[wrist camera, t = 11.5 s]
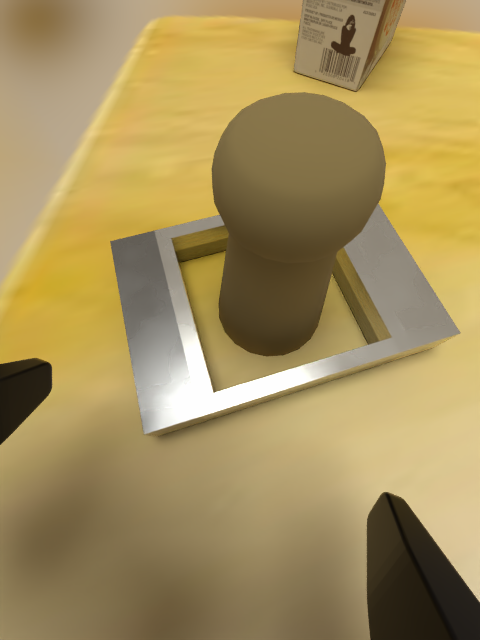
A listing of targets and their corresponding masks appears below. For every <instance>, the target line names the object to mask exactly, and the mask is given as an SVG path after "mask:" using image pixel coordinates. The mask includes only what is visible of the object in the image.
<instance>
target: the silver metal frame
mask: <svg viewBox="0 0 480 640" xmlns="http://www.w3.org/2000/svg"><path fill="white" fill-rule="evenodd" d="M228 235H229V233H228V231H227V228H226V226H225V224H224V222H223V220H222V218H221V216H220V215H217V216H213V217H209V218H205V219H201V220H197V221H193V222H188V223H184V224H180V225H176V226H172V227H168V228H164V229H160V230H155V231H151V232H147V233H143V234H139V235H135V236H131V237H127V238H122V239H118V240H114V241H110V242H111V248H112V254H113V259H114V265H115V271H116V277H117V282H118V288H119V294H120V300H121V305H122V311H123V317H124V323H125V328H126V334H127V340H128V345H129V351H130V357H131V363H132V368H133V374H134V380H135V386H136V391H137V397H138V403H139V409H140V414H141V420H142V426H143V432H144V434H145V435H152V436H161V435H164V434H167V433H170V432H173V431H176V430H180V429H183V428H186V427H189V426H192V425H195V424H198V423H201V422H204V421H208V420H211V419H214V418H217V417H220V416H223V415H226V414H229V413H232V412H236V411H239V410H242V409H245V408H248V407H251V406H254V405H257V404H260V403H263V402H267V401H270V400H273V399H276V398H279V397H282V396H285V395H288V394H291V393H295V392H298V391H301V390H304V389H307V388H310V387H313V386H316V385H319V384H322V383H326V382H329V381H332V380H335V379H338V378H341V377H344V376H347V375H350V374H354V373H357V372H360V371H363V370H366V369H369V368H372V367H375V366H378V365H381V364H385V363H388V362H391V361H394V360H397V359H400V358H403V357H406V356H409V355H413V354H416V353H419V352H422V351H425V350H428V349H431V348H433V347H435V346H437V345H439V344H441V343H443V342H445V341H447V340H449V339H451V338H453V337H454V336H456V335H458V334H460V331H459V330H458V328H457V327H456V325H455V324H454V322H453V320H452V319H451V317H450V316H449V314H448V313H447V311H446V309H445V308H444V306H443V305H442V303H441V302H440V300H439V298H438V297H437V295H436V294H435V292H434V291H433V289H432V287H431V286H430V284H429V283H428V281H427V280H426V278H425V276H424V275H423V273H422V272H421V270H420V269H419V267H418V265H417V264H416V262H415V261H414V259H413V258H412V256H411V254H410V253H409V251H408V250H407V248H406V247H405V245H404V243H403V242H402V240H401V239H400V237H399V236H398V234H397V232H396V231H395V229H394V228H393V226H392V225H391V223H390V221H389V220H388V218H387V217H386V215H385V214H384V212H383V210H382V209H381V207H380V206H379V204H377V206H376V208H375V210H374V211H373V213H372V215H371V216H370V218H369V220H368V222H367V223H366V225H365V227H364V228H363V230H362V232H361V233H359V234H358V235H357V236H356V237H355V238H354V239H353V240H352V241H351V242H349V243H348V244H347V245H346V246H344V247H343V248H342V249H340V250H339V251H338V252H337V255H336V259H335V263H334V267H333V270H332V273H333V275H334V277H335V279H336V281H337V283H338V285H339V287H340V289H341V291H342V293H343V295H344V297H345V299H346V301H347V303H348V305H349V307H350V309H351V311H352V313H353V315H354V316H355V318H356V320H357V322H358V324H359V326H360V328H361V330H362V332H363V334H364V336H365V338H366V340H367V342H368V344H369V345H366V346H363V347H360V348H357V349H353V350H350V351H347V352H344V353H341V354H337V355H334V356H331V357H328V358H325V359H321V360H318V361H315V362H312V363H308V364H305V365H302V366H299V367H296V368H292V369H289V370H286V371H283V372H280V373H276V374H273V375H270V376H267V377H264V378H260V379H257V380H254V381H251V382H248V383H244V384H241V385H238V386H235V387H232V388H228V389H225V390H222V391H219V392H216V393H215V392H214V388H213V384H212V381H211V377H210V373H209V370H208V366H207V362H206V359H205V355H204V351H203V348H202V344H201V340H200V337H199V333H198V329H197V326H196V322H195V319H194V315H193V311H192V308H191V304H190V300H189V297H188V293H187V289H186V286H185V282H184V278H183V275H182V271H181V267H180V264H179V262H183V261H186V260H190V259H194V258H198V257H202V256H206V255H210V254H214V253H218V252H221V251H225V250H226V249H227V242H228Z"/></svg>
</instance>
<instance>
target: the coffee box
mask: <svg viewBox="0 0 480 640" xmlns="http://www.w3.org/2000/svg"><path fill="white" fill-rule="evenodd" d="M405 2H406V0H303V5H302V13H301V20H300V26H299V34H298V41H297V49H296V56H295V64H294V71H295V72H296V73H300V74H303V75H306V76H309V77H312V78H315V79H319V80H322V81H325V82H328V83H332V84H335V85H338V86H341V87H344V88H347V89H350V90H354V91H358V89H359V88H360V87H361V85H362V84H363V82H364V81H365V80H366V78H367V77H368V75H369V74H370V72H371V71H372V69H373V68H374V66H375V65H376V63H377V62H378V60H379V59H380V57H381V56H382V54H383V53H384V51H385V50H386V48H387V47H388V45H389V44H390V42H391V41H392V38H393V35H394V32H395V30H396V27H397V24H398V21H399V19H400V16H401V13H402V10H403V8H404V5H405Z"/></svg>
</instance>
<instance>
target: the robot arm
mask: <svg viewBox="0 0 480 640" xmlns="http://www.w3.org/2000/svg"><path fill="white" fill-rule="evenodd" d="M51 389H52V366H51V364H50V363H49V362H46V361H44V360H41V359H38V358H32V359H26V360H21V361H15V362H10V363H4V364H0V445H1V444H2V443H3V442H4V441H5V440H6V439H7V438H8V437H9V436H10V435H11V434H12V433H13V432H14V431H15V430H16V429H17V428H18V427H19V426H20V425H21V424H22V422H23V421H24V420H25V419H26V418H27V417H28V416H29V415H30V414H31V413H32V412H33V411H34V410H35V409H36V408H37V407H38V406H39V405H40V404H41V403H42V402H43V401H44V399H45V398H46V397H47V396H48V395H49V393H50V392H51ZM367 605H368V618H369V628H370V639H371V640H480V602H479V601H478V599H477V598H476V597H475V595H474V594H473V593H472V591H471V590H470V589H469V587H468V586H467V584H466V583H465V582H464V580H463V579H462V578H461V576H460V575H459V574H458V572H457V571H456V569H455V568H454V567H453V565H452V564H451V563H450V561H449V560H448V559H447V557H446V556H445V554H444V553H443V552H442V550H441V549H440V548H439V546H438V545H437V544H436V542H435V541H434V539H433V538H432V537H431V535H430V534H429V533H428V531H427V530H426V529H425V527H424V526H423V525H422V523H421V522H420V520H419V519H418V518H417V516H416V515H415V514H414V512H413V511H412V510H411V508H410V507H409V505H408V504H407V503H406V501H405V500H404V499H403V498H401V497H399V496H396V495H394V494H391V493H388V492H384V493H382V494H381V495H380V497H379V498H378V500H377V502H376V503H375V505H374V506H373V508H372V510H371V511H370V513H369V515H368V519H367Z"/></svg>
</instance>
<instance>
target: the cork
mask: <svg viewBox="0 0 480 640" xmlns="http://www.w3.org/2000/svg"><path fill="white" fill-rule="evenodd" d="M385 167H386V162H385V156H384V150H383V146H382V144H381V141H380V138H379V135H378V133H377V131H376V129H375V128H374V127H373V126H372V125H371V124H370V122H369V121H368V120H367V119H366V118H365V117H364V116H363V115H362V114H360V113H359V112H357V111H356V110H354V109H352V108H351V107H349V106H348V105H346V104H345V103H343V102H341V101H338V100H335V99H332V98H330V97H327V96H324V95H318V94H311V93H305V92H303V93H284V94H280V95H276V96H272V97H268V98H265V99H261V100H259V101H257V102H255V103H253V104H251V105H249V106H248V107H246V108H244V109H242V110H241V111H240V112H239V113H238V114H237V115H236V116H235V117H234V118H233V120H232V121H231V122H230V123H229V124H228V126H227V128H226V129H225V131H224V133H223V134H222V136H221V138H220V141H219V143H218V146H217V148H216V151H215V154H214V159H213V165H212V185H213V195H214V203H215V205H216V207H217V210H218V212H219V214H220V216H221V218H222V220H223V222H224V224H225V226H226V228H227V231H228V233H229V235H228V242H227V249H226V256H225V263H224V270H223V277H222V284H221V291H220V298H219V318H220V321H221V323H222V325H223V328H224V330H225V332H226V333H227V335H228V336H229V337H230V338H231V339H232V340H233V341H234V343H235V344H237V345H239V346H240V347H242V348H244V349H245V350H247V351H249V352H251V353H255V354H259V355H263V356H277V355H285V354H287V353H290V352H292V351H295V350H297V349H299V348H300V347H301V346H303V345H304V344H305V343H306V342H307V341H308V340H310V339H311V337H312V335H313V333H314V332H315V330H316V328H317V326H318V323H319V319H320V315H321V312H322V308H323V304H324V300H325V297H326V293H327V289H328V285H329V282H330V278H331V274H332V270H333V267H334V263H335V259H336V255H337V252H338V251H339V250H340V249H342V248H343V247H344V246H346V245H347V244H348V243H349V242H351V241H352V240H353V239H354V238H355V237H356V236H357V235H358V234H359V233H361V232H362V230H363V228H364V227H365V225H366V223H367V222H368V220H369V218H370V216H371V215H372V213H373V211H374V210H375V208H376V206H377V204H378V203H379V201H380V199H381V195H382V190H383V186H384V179H385Z"/></svg>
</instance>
